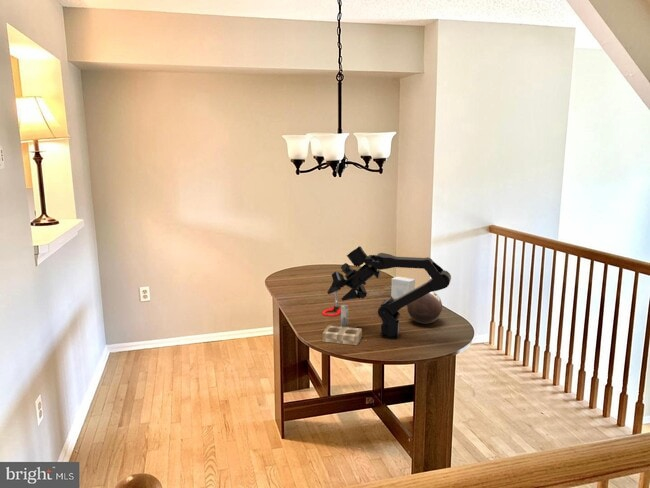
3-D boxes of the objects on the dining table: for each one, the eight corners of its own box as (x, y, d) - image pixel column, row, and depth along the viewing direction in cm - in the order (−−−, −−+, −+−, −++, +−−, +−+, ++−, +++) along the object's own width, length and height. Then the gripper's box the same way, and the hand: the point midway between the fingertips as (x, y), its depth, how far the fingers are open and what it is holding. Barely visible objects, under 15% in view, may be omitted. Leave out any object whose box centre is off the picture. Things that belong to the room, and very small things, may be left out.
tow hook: (333, 319, 217) (345, 312, 224) (332, 291, 214) (344, 286, 221) (318, 315, 222) (330, 309, 229) (317, 288, 219) (329, 283, 226)
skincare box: (414, 298, 245) (415, 278, 243) (409, 301, 240) (409, 281, 238) (396, 295, 251) (397, 275, 249) (390, 298, 246) (391, 278, 244)
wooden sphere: (442, 329, 203) (444, 295, 200) (406, 327, 205) (407, 293, 202) (440, 317, 217) (441, 285, 214) (406, 316, 220) (407, 284, 217)
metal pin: (348, 327, 205) (348, 305, 204) (347, 329, 203) (347, 307, 201) (341, 326, 206) (342, 304, 204) (340, 329, 203) (340, 306, 201)
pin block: (361, 336, 195) (361, 328, 194) (357, 345, 186) (357, 336, 186) (328, 333, 199) (328, 325, 198) (322, 341, 190) (322, 333, 189)
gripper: (369, 268, 207) (343, 288, 213) (342, 252, 195) (315, 274, 201) (378, 288, 200) (351, 308, 206) (350, 273, 187) (322, 295, 193)
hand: (335, 296), depth 201 cm, fingers open, 9 cm apart
